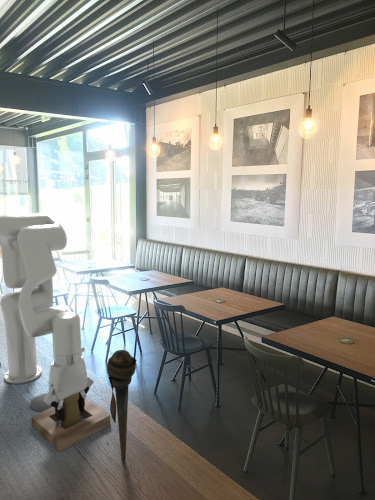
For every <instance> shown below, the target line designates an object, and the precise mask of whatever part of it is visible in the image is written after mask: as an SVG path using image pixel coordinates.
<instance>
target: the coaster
mask: <svg viewBox="0 0 375 500" xmlns="http://www.w3.org/2000/svg"><path fill="white" fill-rule="evenodd" d="M47 393H48V392H46V393H42V394H40V395H36V396H35V397H33V399H32V400H30V403H29V406H30V409H31V410H32V411H34V412H38V413H40V412H43V411H45V410H47V409H49V408H52V407H53V406H51V405H49V404H46V403H45V402H44V401H43V400H44V398H45V396H46V395H47ZM54 399H55V395H53V397H52V399H51V400H53V401H54ZM58 402H59V401H58Z"/></svg>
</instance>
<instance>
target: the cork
mask: <svg viewBox="0 0 375 500" xmlns="http://www.w3.org/2000/svg"><path fill="white" fill-rule="evenodd" d="M78 399H79V392H78V393H76V394H73V395H71V396H69V397H67V398H64V401H63V404H62V408H63V409H64V421H63V422H61V421H60V426H61V427H62V428H64V429H67V428H69V427H71V426H73V425H75V424H77V423H79V422H81V421H82V416H81V415H80V411H79V406H78V401H77V400H78Z"/></svg>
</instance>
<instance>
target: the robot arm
mask: <svg viewBox="0 0 375 500" xmlns="http://www.w3.org/2000/svg"><path fill="white" fill-rule="evenodd" d="M64 229H65V228H64V227H63V226H62V225H61V224H60V223H59V222H58V221H57V220H56V219H55V218H53V216H52V215H50V214H49V213H45V212H36V213H35V212H33V213H12V214H11V213H10V214H4V215H0V249H1V258H2V259H1V260H2V274H3V277H2V278H3V282H4V284H5V286H6V288H9V289H14V290H15V289H21V290H16V291H12V292H9V293H6V294H4V295H3V296H2V297H1V298H0V311H1V314H2V318H3V322H4V329H5V330H4V331H5V341H6V353H7V366H8V370H7V371H6V372H5V373H4V376H3V377H4V381H5V382H6V383H9V384H16V385H17V384H25V383H29V382H32V381H34V380H36V379H38V378H39V377H40V376H41V375H42V373H43V372H42V371H43V370H42V369H43V368H41V366H39V365H38V361H37V348H36V347H37V346H36V345H37V343H36V338H39V337H43V336H47V335H50V334H51V335H52V351H53V352H52V353H53V355H52V356H53V361H52V362H51V364H50V367H49V373H48V374H49V375H48V392H46V393H47V395H46V396H45V398H44V400H43V401H44V402H45V403H46V404H49V405H51V406H53V407H54V408H55V416H56V418H57V419H59V420H60V421H59V422H60V423H61V422H63V421H64V409H63V408H62V404H63V401H64V398H67V397H69V396H71V395H73V394H76V393H78V392H79V399H78V400H77V401H78V406H79V410H80V411H81V412H84V411H85V410H84V406H85V399H87V394H88V393H89V391H90V388H91V387H92V385H93V384H94V380H93V379H91V378H90V377H88V373H87V366H86V363H85V360H84V357H83V352H85V351H86V350H85V349H86V348H85V346H82V338H81V337H82V335H81V333H82V331H81V318H80V315H79V314H78V313H76V312H74V310H73V308H72V307H71V306H70V305H69V304H58V305H54V306H53V304H54V291H53V290H54V286H53V284H54V283H53V277H54V276H55V275H56V274H57V267H56V263H55V261H54V257H53V253H52V252H53V251H54V252H55V251H61V250H63V249H65V248H66V246H67V243H68V237H67V234H66V231H65V230H64ZM53 395H55V399H54V401H53V400H51V399H52V397H53ZM58 401H59V402H58Z"/></svg>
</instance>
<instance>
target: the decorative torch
mask: <svg viewBox="0 0 375 500" xmlns="http://www.w3.org/2000/svg"><path fill="white" fill-rule="evenodd" d="M136 367H137V359H136V358H135V357H133V356H132V355H131V353H130V351H128V350H125V349H120V350H119V349H118V350H115V352H113V354H112V355H111V356H110V357H109V358H108V360H107V364H106V372H107V375H108V381H109V383H110V387H111V393H112V394H111V398H110V399H111V400H110V404H109V405H110V406H109V409H110V410H109V411H110V417H111V418H112V420H113V423H114V424H116V419H117V424H118V425H117V426H118V434H119V445H120V456H121V457H120V459H121V460H120V461H122V462H124V463H125V462H126V459H127V458H126V456H127V436H128V435H127V430H128V408H129V407H128V406H129V405H128V404H129V403H128V402H129V385H130V384H131V383H132V379H133V376H134V374H135V372H136V369H137V368H136ZM114 390H115V393H114Z"/></svg>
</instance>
